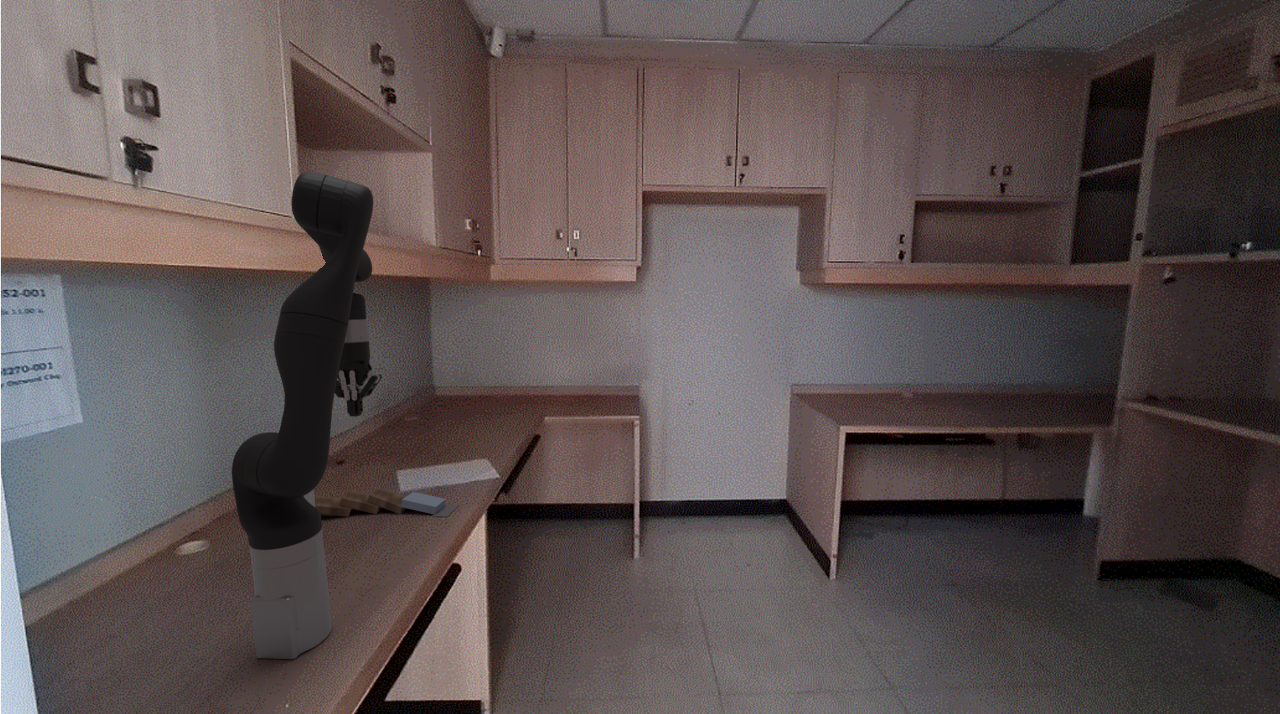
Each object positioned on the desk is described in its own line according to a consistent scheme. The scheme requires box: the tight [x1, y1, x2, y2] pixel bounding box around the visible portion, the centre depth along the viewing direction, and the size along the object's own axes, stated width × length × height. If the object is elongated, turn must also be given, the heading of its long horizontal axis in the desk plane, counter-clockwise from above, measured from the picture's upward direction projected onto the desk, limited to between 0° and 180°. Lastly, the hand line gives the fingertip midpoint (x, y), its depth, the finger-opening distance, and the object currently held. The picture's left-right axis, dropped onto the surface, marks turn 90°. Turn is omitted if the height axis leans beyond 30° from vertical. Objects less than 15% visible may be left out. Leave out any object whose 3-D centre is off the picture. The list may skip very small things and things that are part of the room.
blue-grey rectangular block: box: [401, 491, 447, 515], centre depth 127 cm, size 5×2×9 cm
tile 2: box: [368, 487, 408, 515], centre depth 128 cm, size 5×2×9 cm
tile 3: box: [339, 489, 383, 515], centre depth 127 cm, size 5×2×9 cm
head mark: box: [431, 504, 460, 518], centre depth 127 cm, size 7×4×1 cm, turn 176°
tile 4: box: [315, 495, 353, 518], centre depth 125 cm, size 5×2×9 cm
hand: (355, 415), depth 114 cm, fingers closed
